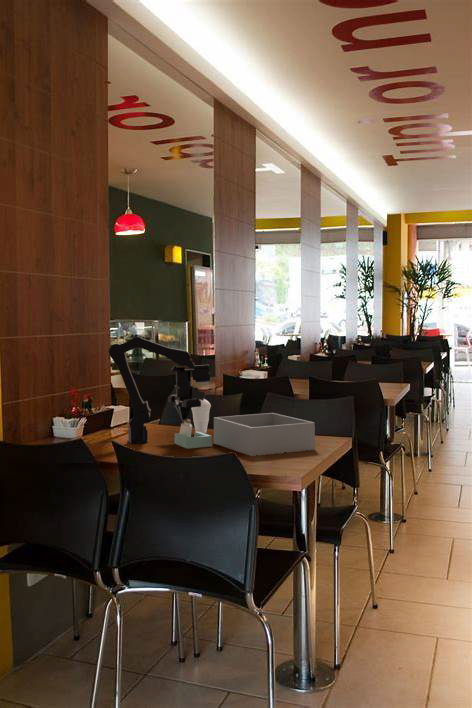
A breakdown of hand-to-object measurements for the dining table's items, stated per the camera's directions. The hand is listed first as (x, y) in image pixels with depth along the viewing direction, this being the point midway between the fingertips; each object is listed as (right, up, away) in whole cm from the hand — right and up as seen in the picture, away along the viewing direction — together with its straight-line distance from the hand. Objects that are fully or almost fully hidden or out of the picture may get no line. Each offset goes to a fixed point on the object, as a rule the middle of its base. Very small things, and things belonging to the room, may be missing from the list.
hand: (184, 422), depth 281 cm
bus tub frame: (+30, -8, -11) cm, 33 cm away
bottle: (0, -7, 0) cm, 7 cm away
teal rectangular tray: (+4, -8, -7) cm, 11 cm away
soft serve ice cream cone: (+5, -6, +21) cm, 23 cm away
